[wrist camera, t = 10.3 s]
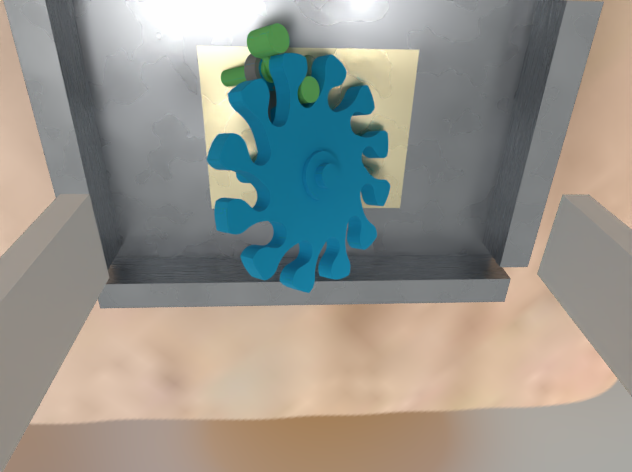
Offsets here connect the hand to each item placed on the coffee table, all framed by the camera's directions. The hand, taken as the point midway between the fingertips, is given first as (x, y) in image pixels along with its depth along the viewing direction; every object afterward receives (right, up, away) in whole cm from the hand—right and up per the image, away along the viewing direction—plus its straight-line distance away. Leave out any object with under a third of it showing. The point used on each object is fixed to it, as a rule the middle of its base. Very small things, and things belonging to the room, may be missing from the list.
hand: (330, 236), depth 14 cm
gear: (-1, +5, +10) cm, 11 cm away
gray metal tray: (-1, +6, +11) cm, 13 cm away
